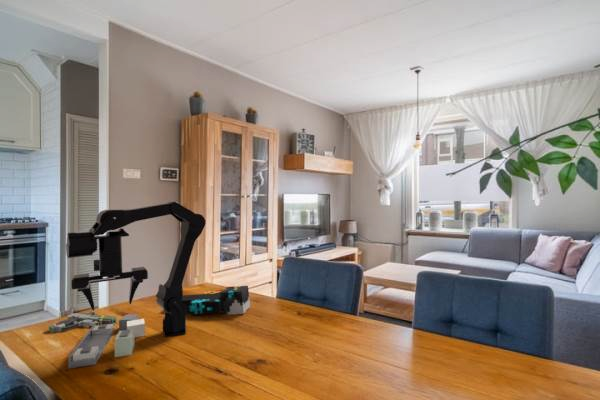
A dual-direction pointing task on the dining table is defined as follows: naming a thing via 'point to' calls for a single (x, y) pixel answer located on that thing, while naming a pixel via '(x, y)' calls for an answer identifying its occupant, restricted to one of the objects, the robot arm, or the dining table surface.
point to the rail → (91, 346)
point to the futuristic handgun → (81, 321)
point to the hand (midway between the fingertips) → (112, 306)
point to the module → (124, 343)
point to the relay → (137, 327)
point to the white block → (124, 321)
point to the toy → (219, 301)
